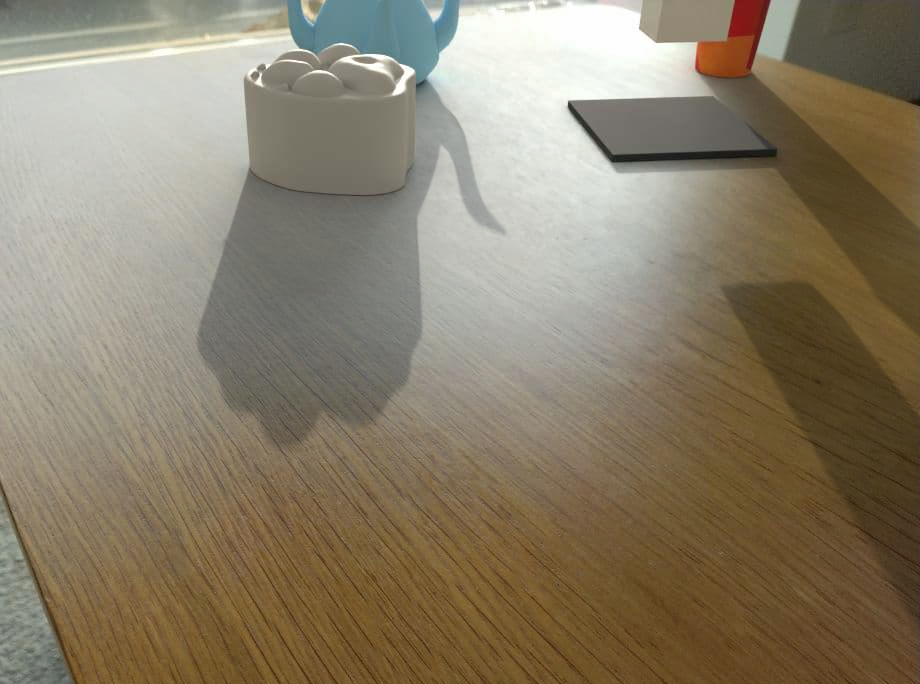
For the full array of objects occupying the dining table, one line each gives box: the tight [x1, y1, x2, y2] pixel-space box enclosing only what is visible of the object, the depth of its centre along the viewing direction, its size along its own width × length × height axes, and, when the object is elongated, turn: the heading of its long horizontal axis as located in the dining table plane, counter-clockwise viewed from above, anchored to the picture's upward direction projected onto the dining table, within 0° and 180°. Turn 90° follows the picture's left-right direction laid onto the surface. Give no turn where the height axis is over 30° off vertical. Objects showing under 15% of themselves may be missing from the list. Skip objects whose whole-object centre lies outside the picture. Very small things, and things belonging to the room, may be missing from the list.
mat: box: [567, 95, 779, 163], centre depth 86 cm, size 14×14×1 cm
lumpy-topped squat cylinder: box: [243, 44, 417, 196], centre depth 76 cm, size 10×13×9 cm
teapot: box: [286, 0, 461, 86], centre depth 96 cm, size 15×15×10 cm
